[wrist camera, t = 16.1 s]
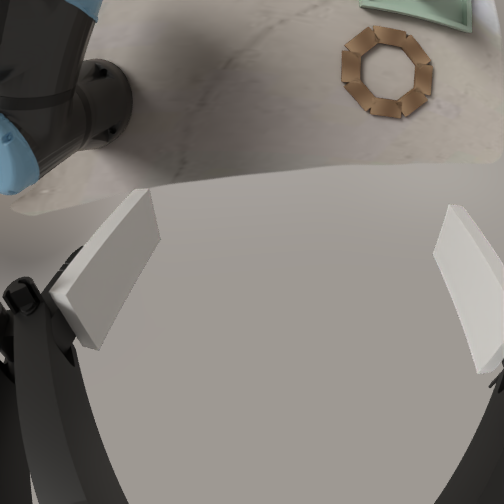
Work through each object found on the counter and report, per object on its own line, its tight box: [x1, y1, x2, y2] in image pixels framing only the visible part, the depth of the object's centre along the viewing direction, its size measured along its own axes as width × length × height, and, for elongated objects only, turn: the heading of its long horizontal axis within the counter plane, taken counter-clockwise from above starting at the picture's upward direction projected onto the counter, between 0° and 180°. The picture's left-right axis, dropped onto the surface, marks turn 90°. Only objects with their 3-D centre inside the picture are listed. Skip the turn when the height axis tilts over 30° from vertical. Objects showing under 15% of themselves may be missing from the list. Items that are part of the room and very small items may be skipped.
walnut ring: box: [341, 26, 433, 118], centre depth 33 cm, size 13×13×1 cm
